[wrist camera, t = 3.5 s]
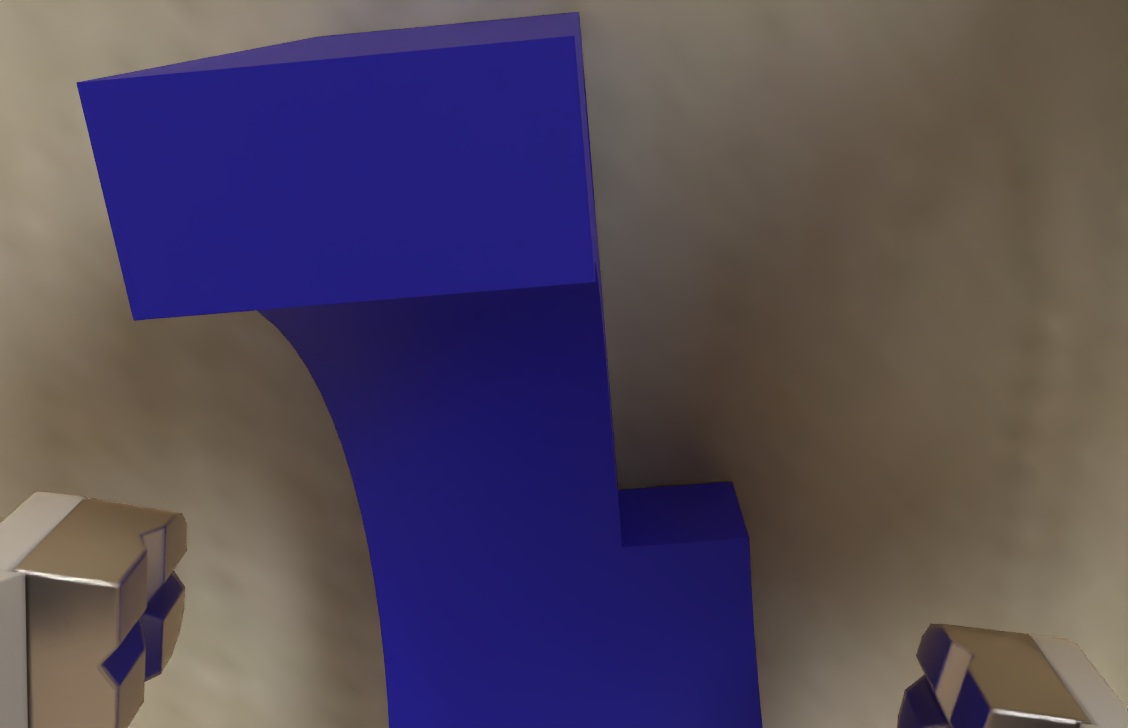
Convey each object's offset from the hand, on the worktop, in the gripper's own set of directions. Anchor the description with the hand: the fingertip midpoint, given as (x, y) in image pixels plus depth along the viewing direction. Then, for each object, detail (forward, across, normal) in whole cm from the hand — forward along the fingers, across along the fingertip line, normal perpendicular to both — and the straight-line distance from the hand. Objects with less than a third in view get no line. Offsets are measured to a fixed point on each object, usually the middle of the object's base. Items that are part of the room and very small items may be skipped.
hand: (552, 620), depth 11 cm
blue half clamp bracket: (+3, 0, 0) cm, 3 cm away
